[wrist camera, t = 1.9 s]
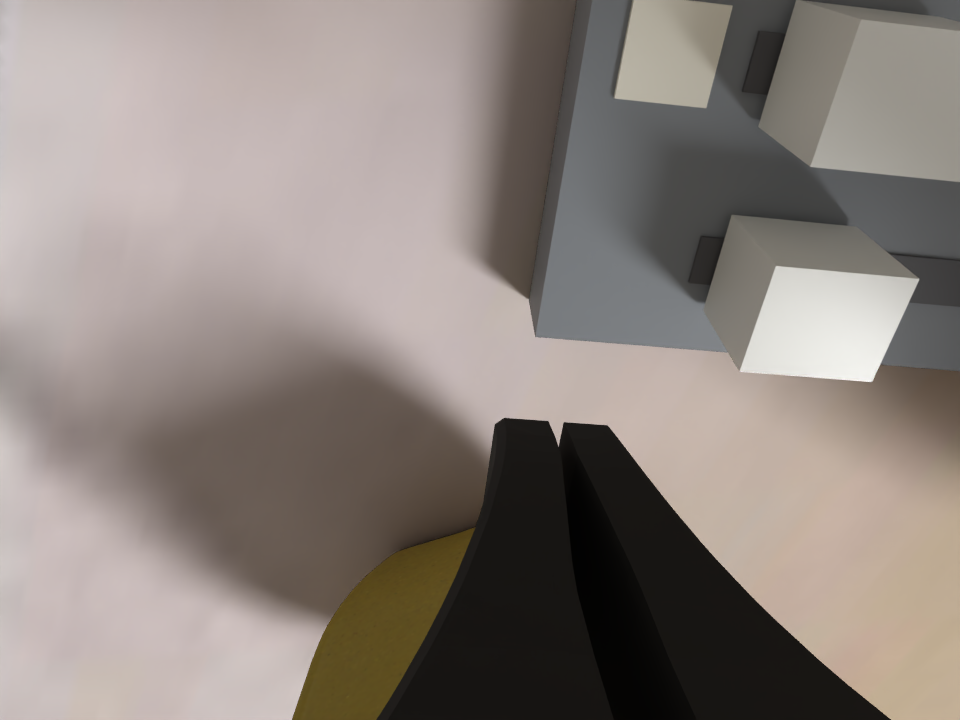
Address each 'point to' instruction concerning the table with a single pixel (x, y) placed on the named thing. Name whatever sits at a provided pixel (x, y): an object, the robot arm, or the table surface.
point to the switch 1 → (868, 91)
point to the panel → (709, 179)
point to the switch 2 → (806, 298)
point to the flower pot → (379, 632)
